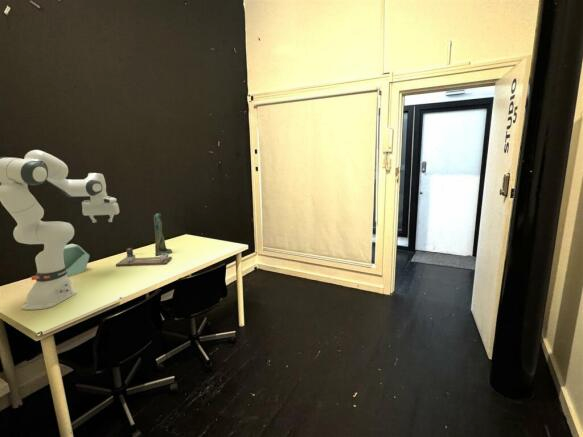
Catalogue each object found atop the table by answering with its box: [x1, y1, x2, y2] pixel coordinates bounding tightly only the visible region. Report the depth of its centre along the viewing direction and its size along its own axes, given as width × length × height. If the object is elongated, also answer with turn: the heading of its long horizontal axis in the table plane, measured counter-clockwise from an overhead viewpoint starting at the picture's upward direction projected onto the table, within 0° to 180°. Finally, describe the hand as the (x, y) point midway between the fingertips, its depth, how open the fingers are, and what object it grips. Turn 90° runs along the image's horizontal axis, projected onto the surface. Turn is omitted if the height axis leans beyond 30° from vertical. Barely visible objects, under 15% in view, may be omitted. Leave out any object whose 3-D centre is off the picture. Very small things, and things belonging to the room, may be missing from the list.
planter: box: [63, 243, 90, 277], centre depth 186 cm, size 17×8×21 cm
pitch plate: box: [115, 253, 173, 268], centre depth 204 cm, size 12×32×6 cm, turn 94°
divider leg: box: [124, 247, 136, 263], centre depth 202 cm, size 8×4×8 cm, turn 4°
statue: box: [153, 213, 173, 257], centre depth 221 cm, size 7×11×30 cm, turn 124°
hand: (102, 222), depth 186 cm, fingers open, 8 cm apart
